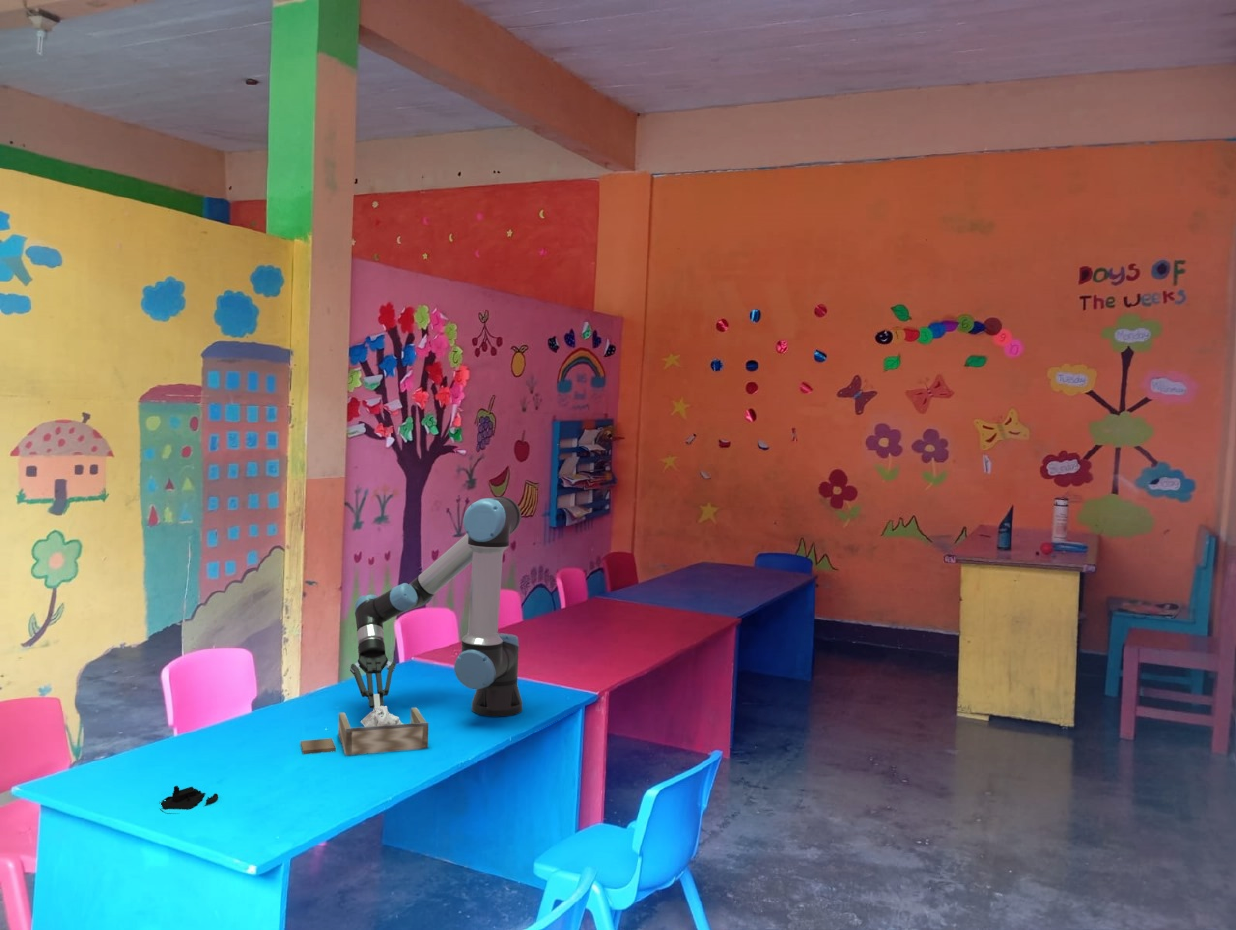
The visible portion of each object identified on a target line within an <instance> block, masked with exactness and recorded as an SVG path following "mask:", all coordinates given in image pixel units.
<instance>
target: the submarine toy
mask: <svg viewBox="0 0 1236 930" xmlns="http://www.w3.org/2000/svg"><path fill="white" fill-rule="evenodd" d="M206 795H207V793H206V792H202V791H201V790H199V789H197V788H194V786H189V787H185V788H183V789H180V788H179V786H178V785H175V786H173V792H172V795H170V796H167V797H165V798H164V799H163V800H161V802H160V803H161V805H162V806H161V805H160V806H161V807H162V808H159V809H160V811H161V812H162V813H165V814H167V815H171V814H172V815H176V814H177V815H178V814H180V812H179V813H174V812H173V813H170V812H169V813H168V812H165V810H169V811H170V810H186V811H187V810H192V809H194V808H196V807H197V806H198V805H199V804H201V802H203V800H204V798H205V796H206ZM164 800H166V801H164ZM218 801H219V794H218V793H217V792H216V793H214V794H213V795H211V796H210V797H208V796H207V798H206V800H205V804H204V807H206V806H210V805H212V804H215V803H216V802H218Z"/></svg>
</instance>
